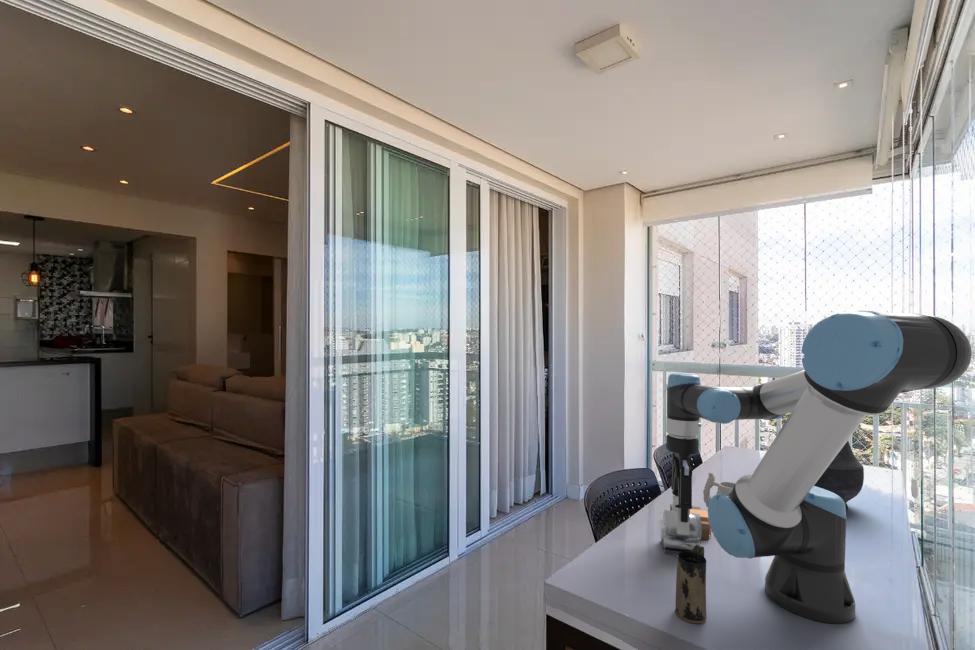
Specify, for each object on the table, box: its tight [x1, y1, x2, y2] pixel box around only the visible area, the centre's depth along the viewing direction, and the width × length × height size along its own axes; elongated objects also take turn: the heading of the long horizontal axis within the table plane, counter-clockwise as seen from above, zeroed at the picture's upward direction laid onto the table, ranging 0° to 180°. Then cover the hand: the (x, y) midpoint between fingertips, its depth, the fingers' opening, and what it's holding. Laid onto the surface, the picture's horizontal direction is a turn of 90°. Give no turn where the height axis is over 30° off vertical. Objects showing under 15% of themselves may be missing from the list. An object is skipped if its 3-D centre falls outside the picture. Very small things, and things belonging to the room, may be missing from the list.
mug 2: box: [675, 545, 708, 625], centre depth 89 cm, size 8×6×12 cm
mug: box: [702, 471, 736, 508], centre depth 136 cm, size 8×12×12 cm, turn 36°
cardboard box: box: [669, 503, 710, 540], centre depth 127 cm, size 12×8×4 cm, turn 166°
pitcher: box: [814, 440, 865, 511], centre depth 149 cm, size 17×21×30 cm
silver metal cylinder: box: [662, 509, 702, 541], centre depth 115 cm, size 8×6×6 cm
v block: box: [660, 529, 701, 556], centre depth 115 cm, size 8×7×3 cm
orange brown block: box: [690, 509, 712, 537], centre depth 126 cm, size 5×9×5 cm, turn 76°
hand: (680, 527), depth 115 cm, fingers open, 6 cm apart
